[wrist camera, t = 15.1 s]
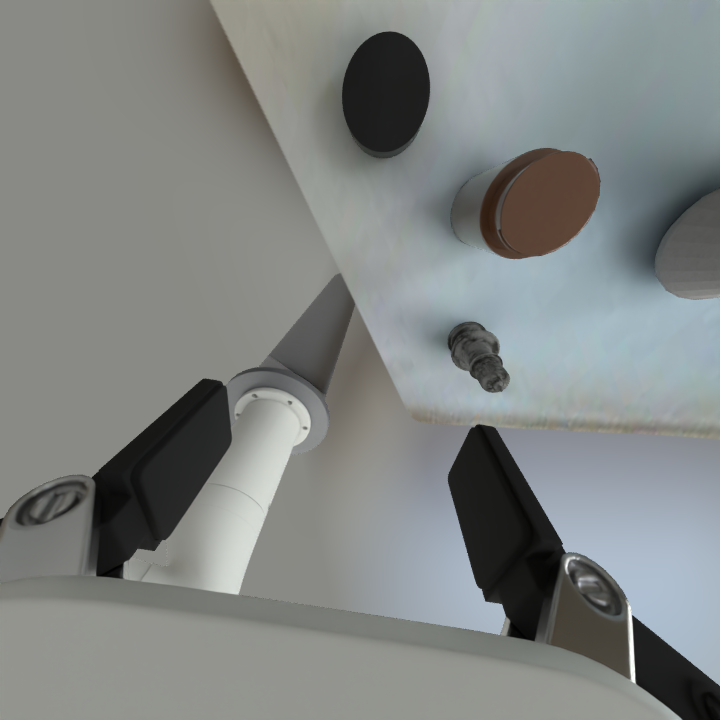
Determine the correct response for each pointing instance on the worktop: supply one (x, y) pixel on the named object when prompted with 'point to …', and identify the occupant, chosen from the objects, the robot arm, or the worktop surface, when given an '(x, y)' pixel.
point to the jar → (527, 204)
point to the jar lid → (386, 94)
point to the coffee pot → (692, 251)
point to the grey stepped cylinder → (478, 355)
